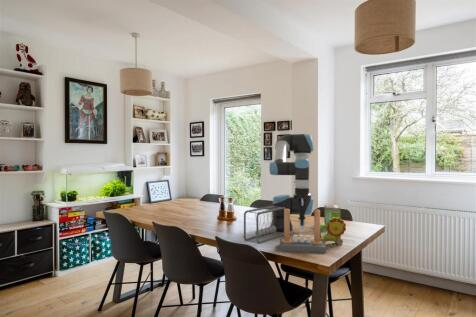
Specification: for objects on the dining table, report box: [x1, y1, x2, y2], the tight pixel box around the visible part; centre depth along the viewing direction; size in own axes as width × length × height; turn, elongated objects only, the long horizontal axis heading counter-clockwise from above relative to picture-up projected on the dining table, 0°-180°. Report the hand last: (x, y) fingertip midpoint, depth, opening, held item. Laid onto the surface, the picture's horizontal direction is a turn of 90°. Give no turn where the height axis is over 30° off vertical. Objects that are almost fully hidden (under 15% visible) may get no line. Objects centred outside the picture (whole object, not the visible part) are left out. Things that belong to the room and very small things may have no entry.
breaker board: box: [278, 238, 327, 254], centre depth 174 cm, size 12×24×3 cm, turn 81°
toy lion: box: [320, 217, 347, 246], centre depth 183 cm, size 16×5×15 cm, turn 92°
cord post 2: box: [312, 209, 322, 245], centre depth 173 cm, size 5×5×18 cm
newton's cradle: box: [243, 205, 286, 245], centre depth 197 cm, size 30×10×18 cm, turn 139°
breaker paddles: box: [293, 234, 312, 243], centre depth 174 cm, size 2×9×4 cm, turn 81°
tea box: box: [323, 204, 341, 225], centre depth 227 cm, size 15×10×15 cm
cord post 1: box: [282, 209, 293, 244], centre depth 175 cm, size 5×5×18 cm
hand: (301, 231), depth 174 cm, fingers closed
